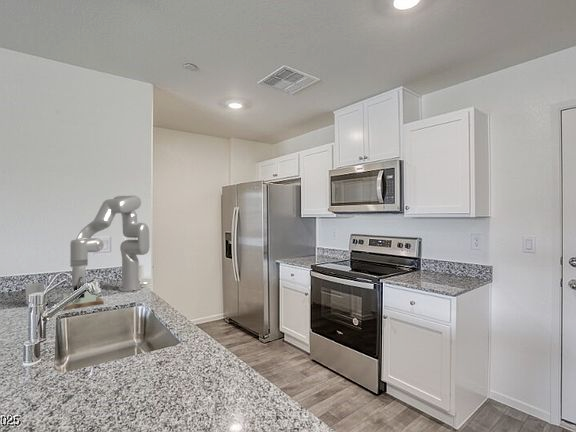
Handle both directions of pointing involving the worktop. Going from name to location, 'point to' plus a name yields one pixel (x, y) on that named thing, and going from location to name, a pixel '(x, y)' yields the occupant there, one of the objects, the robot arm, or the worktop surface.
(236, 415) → the worktop surface
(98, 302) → the stub board
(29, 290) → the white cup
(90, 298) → the housing
